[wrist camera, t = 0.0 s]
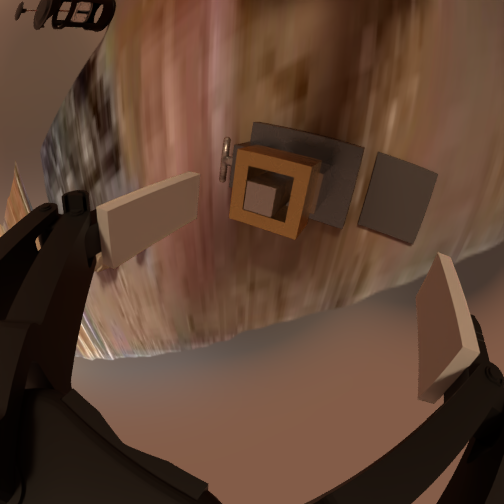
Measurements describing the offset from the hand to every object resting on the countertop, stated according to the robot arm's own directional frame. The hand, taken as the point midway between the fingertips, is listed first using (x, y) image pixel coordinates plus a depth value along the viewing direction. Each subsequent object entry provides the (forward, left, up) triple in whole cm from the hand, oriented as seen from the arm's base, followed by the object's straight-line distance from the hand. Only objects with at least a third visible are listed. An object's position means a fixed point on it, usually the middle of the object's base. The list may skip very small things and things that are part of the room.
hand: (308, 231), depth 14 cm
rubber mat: (+3, +7, -28) cm, 29 cm away
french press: (-27, -58, -28) cm, 70 cm away
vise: (+4, -9, -28) cm, 30 cm away
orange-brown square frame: (+4, -7, -19) cm, 21 cm away
